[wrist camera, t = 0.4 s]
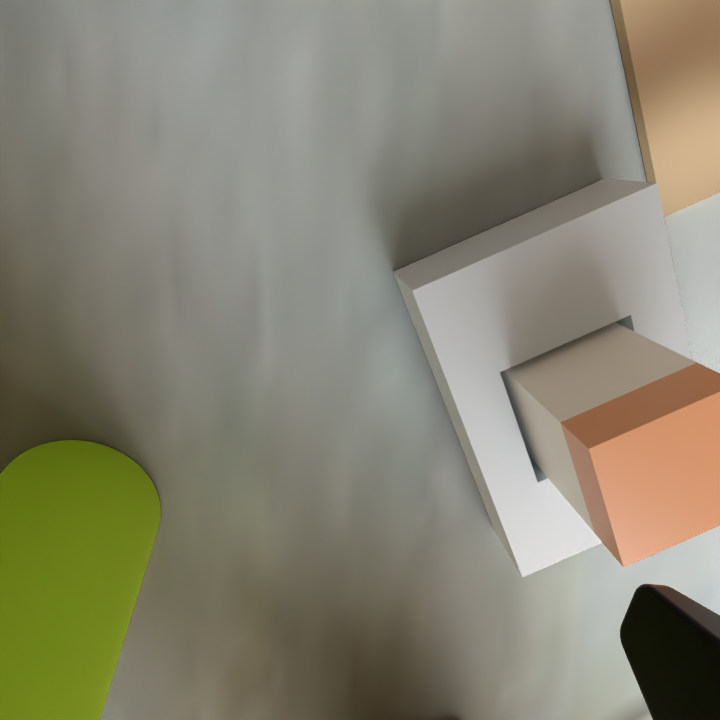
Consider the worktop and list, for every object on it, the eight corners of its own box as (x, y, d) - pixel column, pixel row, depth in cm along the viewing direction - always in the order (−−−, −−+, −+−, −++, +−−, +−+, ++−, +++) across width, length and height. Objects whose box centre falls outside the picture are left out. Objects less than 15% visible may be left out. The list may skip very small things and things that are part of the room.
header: (667, 453, 24) (718, 492, 22) (493, 529, 24) (522, 577, 22) (603, 178, 20) (657, 183, 17) (393, 271, 20) (412, 290, 17)
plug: (602, 393, 23) (760, 507, 16) (510, 433, 23) (623, 567, 16) (578, 303, 22) (738, 383, 14) (479, 347, 22) (588, 448, 14)
